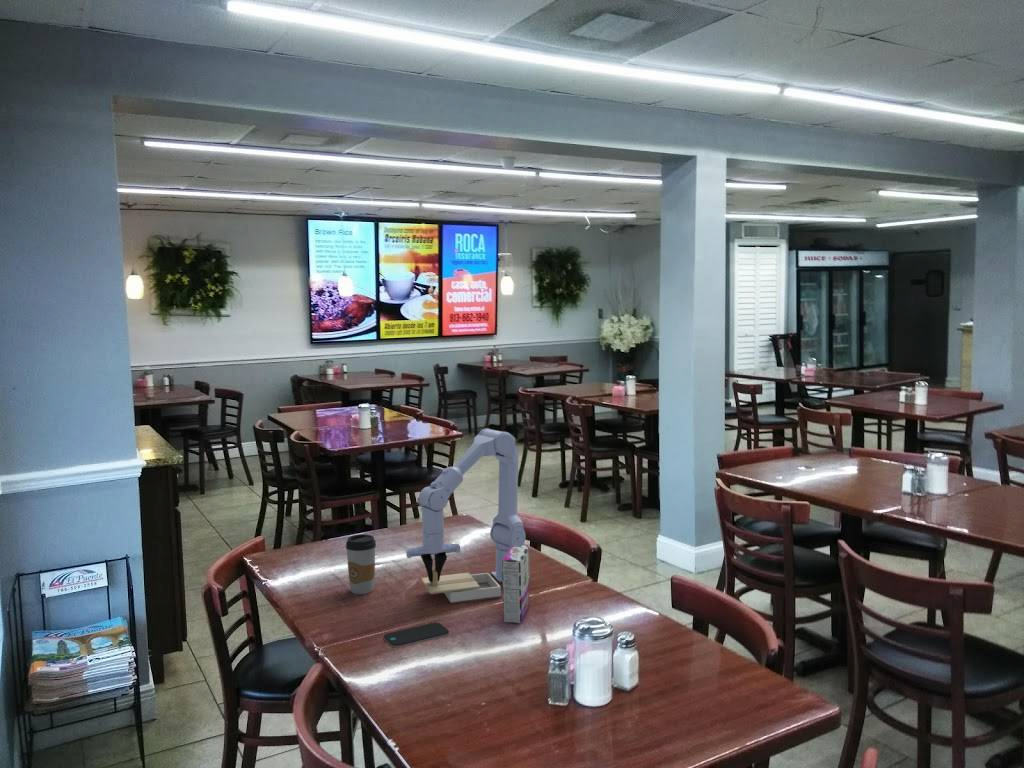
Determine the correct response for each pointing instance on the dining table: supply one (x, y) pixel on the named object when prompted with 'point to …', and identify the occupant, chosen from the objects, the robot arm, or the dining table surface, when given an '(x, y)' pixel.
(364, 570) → the coffee cup
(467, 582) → the beige sliding box lid
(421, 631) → the smartphone
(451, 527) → the dining table surface
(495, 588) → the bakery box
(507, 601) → the candy bar box
